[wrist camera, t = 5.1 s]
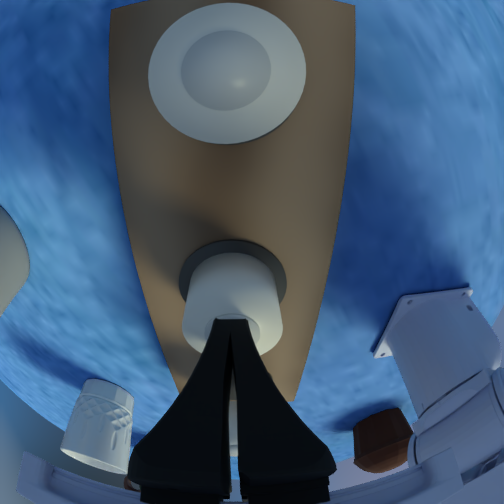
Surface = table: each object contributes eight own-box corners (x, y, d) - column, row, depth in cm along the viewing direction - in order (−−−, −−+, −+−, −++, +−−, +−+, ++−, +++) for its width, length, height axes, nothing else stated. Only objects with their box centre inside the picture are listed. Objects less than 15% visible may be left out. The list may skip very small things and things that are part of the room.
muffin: (380, 429, 40) (392, 471, 32) (334, 436, 38) (343, 484, 30) (420, 399, 34) (438, 447, 26) (373, 406, 32) (390, 464, 24)
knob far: (270, 399, 16) (274, 441, 14) (266, 422, 19) (269, 457, 16) (203, 400, 16) (201, 442, 13) (210, 423, 19) (209, 458, 16)
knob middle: (278, 251, 13) (288, 297, 10) (272, 316, 15) (278, 362, 13) (185, 252, 13) (173, 298, 10) (195, 317, 15) (189, 363, 13)
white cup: (69, 372, 25) (46, 442, 17) (119, 376, 25) (101, 459, 16) (101, 404, 29) (87, 465, 21) (149, 408, 29) (140, 477, 21)
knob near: (288, 28, 8) (308, 5, 5) (285, 131, 10) (303, 146, 7) (172, 30, 7) (147, 9, 5) (173, 133, 10) (149, 149, 7)
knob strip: (332, 19, 9) (356, 4, 7) (289, 374, 25) (294, 402, 22) (134, 22, 9) (109, 8, 6) (186, 376, 24) (183, 404, 21)
